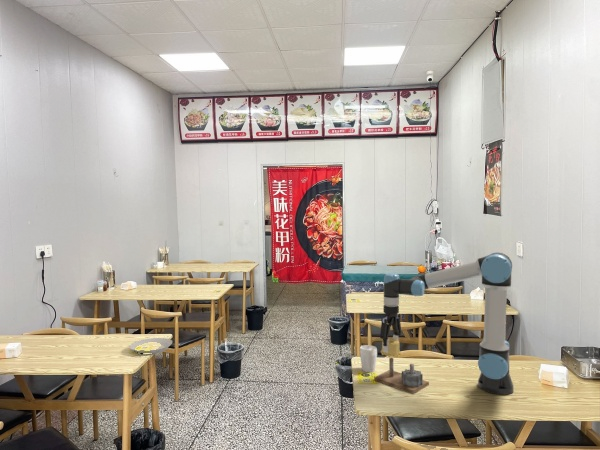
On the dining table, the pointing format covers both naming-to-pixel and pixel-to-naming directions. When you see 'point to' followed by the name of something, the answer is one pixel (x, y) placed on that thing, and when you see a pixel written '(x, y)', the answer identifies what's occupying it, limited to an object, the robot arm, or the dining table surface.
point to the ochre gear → (392, 348)
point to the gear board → (403, 379)
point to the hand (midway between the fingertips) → (390, 350)
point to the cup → (368, 357)
